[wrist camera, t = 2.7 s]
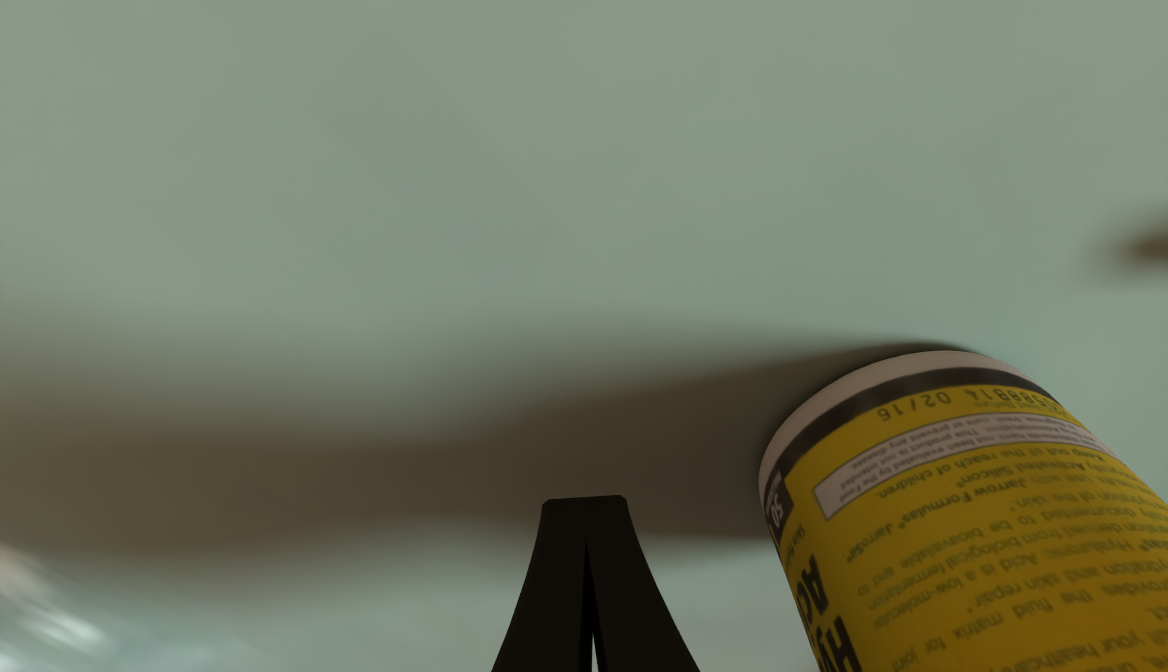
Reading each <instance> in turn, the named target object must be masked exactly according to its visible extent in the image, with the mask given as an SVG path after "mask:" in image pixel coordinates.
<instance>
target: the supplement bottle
mask: <svg viewBox="0 0 1168 672" xmlns="http://www.w3.org/2000/svg"><path fill="white" fill-rule="evenodd" d="M759 493H760V500H761V504H762V508H763V512H764V515H765V519H766V521H767V524H768V527H769V530H770V533H771V536H772V539H773V542H774V544H775V547H776V550H777V553H778V556H779V559H780V561H781V564H782V566H783V569H784V572H785V575H786V577H787V580H788V583H789V586H790V588H791V591H792V594H793V597H794V600H795V602H796V605H797V608H798V611H799V614H800V617H801V619H802V622H803V625H804V628H805V631H806V634H807V637H808V639H809V642H810V645H811V648H812V651H813V653H814V656H815V658H816V661H817V664H818V667H819V669H820V672H1168V505H1167V504H1166V503H1165V502H1164V501H1163V500H1162V499H1161V498H1160V497H1158V496H1157V495H1156V494H1155V493H1154V492H1153V491H1152V490H1151V489H1150V488H1149V487H1148V486H1147V485H1146V484H1145V483H1144V482H1142V481H1141V480H1140V479H1139V478H1138V477H1137V476H1136V475H1135V474H1134V473H1133V472H1132V471H1131V470H1130V469H1129V468H1128V467H1127V466H1126V465H1124V464H1123V463H1122V462H1121V461H1120V460H1119V459H1118V458H1117V457H1116V456H1115V455H1114V454H1113V453H1112V452H1111V451H1110V450H1109V449H1108V448H1107V447H1106V446H1105V445H1104V444H1102V443H1101V442H1100V441H1099V440H1098V439H1097V438H1096V437H1095V436H1094V435H1093V434H1092V433H1091V432H1089V431H1088V430H1087V429H1086V428H1085V427H1084V426H1083V425H1082V424H1081V423H1080V422H1079V421H1078V420H1077V419H1075V418H1074V417H1073V416H1072V415H1071V414H1070V413H1069V412H1067V411H1066V410H1065V409H1064V408H1063V407H1062V406H1061V405H1060V404H1059V403H1058V402H1057V401H1056V400H1055V399H1054V398H1053V397H1052V396H1051V395H1050V394H1049V393H1047V392H1046V391H1045V390H1044V389H1042V388H1041V387H1040V386H1039V385H1037V384H1036V383H1035V382H1034V381H1033V380H1032V379H1030V378H1029V377H1028V376H1026V375H1025V374H1023V373H1022V372H1021V371H1019V370H1017V369H1016V368H1014V367H1012V366H1011V365H1009V364H1006V363H1004V362H1002V361H999V360H996V359H994V358H991V357H988V356H984V355H979V354H975V353H970V352H961V351H947V350H944V351H928V352H918V353H913V354H907V355H902V356H898V357H893V358H889V359H885V360H882V361H879V362H876V363H873V364H870V365H868V366H865V367H863V368H860V369H858V370H856V371H853V372H851V373H849V374H847V375H845V376H843V377H841V378H840V379H838V380H836V381H835V382H833V383H831V384H830V385H828V386H827V387H825V388H824V389H822V390H820V391H819V392H817V393H816V394H815V395H813V396H812V397H811V398H809V399H808V400H807V401H806V402H804V403H803V404H802V405H801V406H800V407H799V408H798V409H797V410H795V411H794V412H793V413H792V414H791V415H790V416H789V417H788V418H787V419H786V420H785V421H784V423H783V424H782V425H781V427H780V428H779V429H778V430H777V432H776V433H775V435H774V436H773V438H772V440H771V441H770V443H769V445H768V447H767V449H766V451H765V454H764V456H763V459H762V463H761V467H760V472H759Z"/></svg>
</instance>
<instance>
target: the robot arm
mask: <svg viewBox="0 0 1168 672" xmlns="http://www.w3.org/2000/svg"><path fill="white" fill-rule="evenodd" d="M593 637H594V644H595V651H596V658H597V665H598V672H700V670H699V668H698V667H697V665H696V663H695V661H694V659H693V657H692V656H691V654H690V652H689V650H688V648H687V646H686V644H685V643H684V641H683V639H682V637H681V635H680V633H679V631H678V629H677V627H676V625H675V623H674V621H673V619H672V617H671V615H670V612H669V610H668V608H667V606H666V604H665V602H664V600H663V598H662V596H661V594H660V591H659V589H658V587H657V585H656V583H655V580H654V578H653V576H652V574H651V571H650V569H649V567H648V564H647V562H646V559H645V557H644V554H643V552H642V549H641V547H640V544H639V541H638V538H637V536H636V533H635V530H634V527H633V524H632V520H631V517H630V513H629V510H628V506H627V501H626V499H625V498H624V497H622V496H621V495H611V496H595V497H580V498H565V499H549V500H547V501H546V502H545V503H544V504H543V505H542V512H541V519H540V524H539V529H538V534H537V538H536V542H535V546H534V550H533V554H532V557H531V561H530V564H529V568H528V571H527V575H526V578H525V581H524V584H523V587H522V590H521V593H520V596H519V599H518V602H517V605H516V608H515V611H514V614H513V617H512V620H511V623H510V625H509V628H508V631H507V633H506V636H505V639H504V641H503V644H502V646H501V649H500V651H499V654H498V656H497V659H496V661H495V664H494V666H493V669H492V671H491V672H592V643H593Z"/></svg>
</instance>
